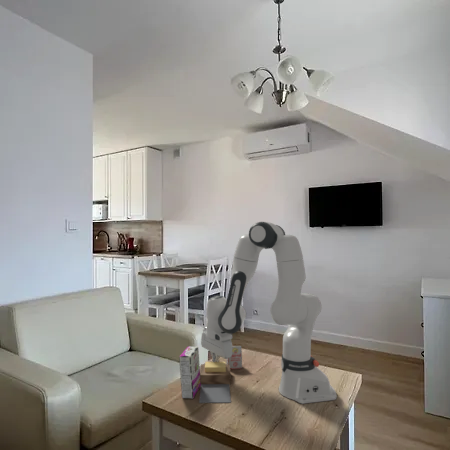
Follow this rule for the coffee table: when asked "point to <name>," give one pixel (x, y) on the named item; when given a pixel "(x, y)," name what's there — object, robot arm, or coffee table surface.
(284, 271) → the robot arm
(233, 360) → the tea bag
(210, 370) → the pale yellow rectangular block
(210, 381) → the deck
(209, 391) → the mat
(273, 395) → the coffee table surface
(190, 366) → the candy bar box
